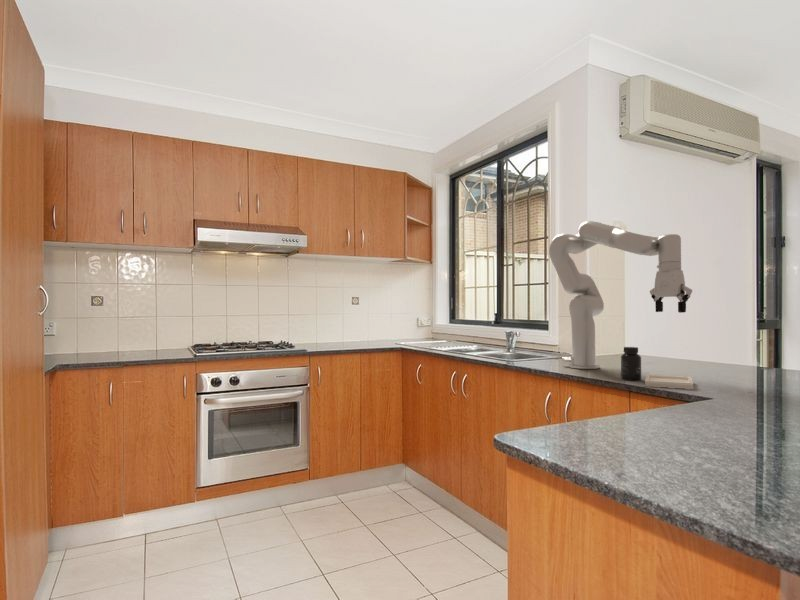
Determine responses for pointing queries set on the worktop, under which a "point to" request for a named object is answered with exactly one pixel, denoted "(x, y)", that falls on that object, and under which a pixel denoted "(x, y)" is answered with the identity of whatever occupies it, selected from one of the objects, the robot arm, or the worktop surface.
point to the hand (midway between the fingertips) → (670, 312)
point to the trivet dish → (668, 381)
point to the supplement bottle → (631, 364)
